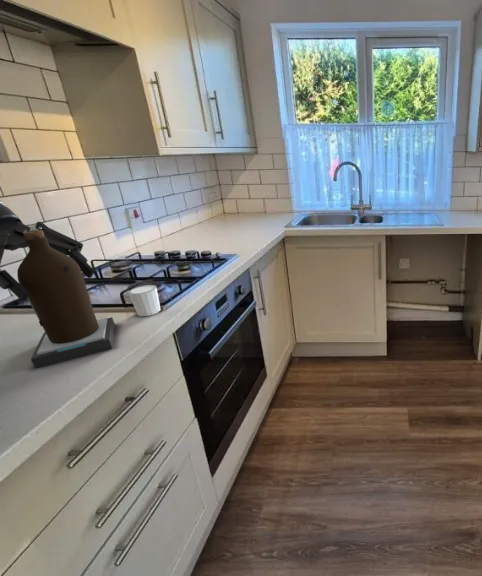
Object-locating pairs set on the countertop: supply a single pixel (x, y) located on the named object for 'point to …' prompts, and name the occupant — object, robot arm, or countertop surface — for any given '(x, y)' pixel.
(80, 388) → the countertop surface
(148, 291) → the white faceted cylinder
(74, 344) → the scale
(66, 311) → the olive oil
